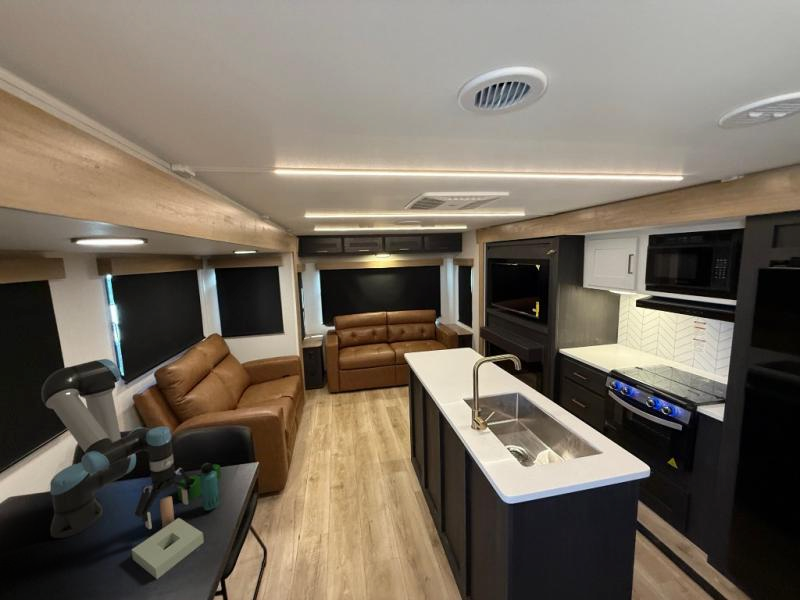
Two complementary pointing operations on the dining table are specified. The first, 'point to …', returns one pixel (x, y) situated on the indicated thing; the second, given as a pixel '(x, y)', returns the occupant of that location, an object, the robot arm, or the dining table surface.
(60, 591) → the dining table surface
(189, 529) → the socket board
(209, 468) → the beverage bottle
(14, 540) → the dining table surface
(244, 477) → the dining table surface
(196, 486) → the slotted cylinder bracket
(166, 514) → the peg
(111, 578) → the dining table surface
